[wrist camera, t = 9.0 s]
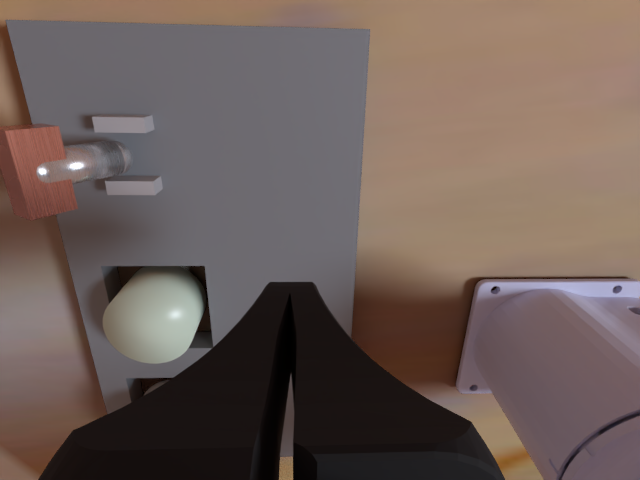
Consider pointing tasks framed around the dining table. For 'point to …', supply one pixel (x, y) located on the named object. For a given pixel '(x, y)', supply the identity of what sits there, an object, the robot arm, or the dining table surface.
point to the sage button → (155, 314)
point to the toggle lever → (53, 167)
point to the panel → (205, 165)
